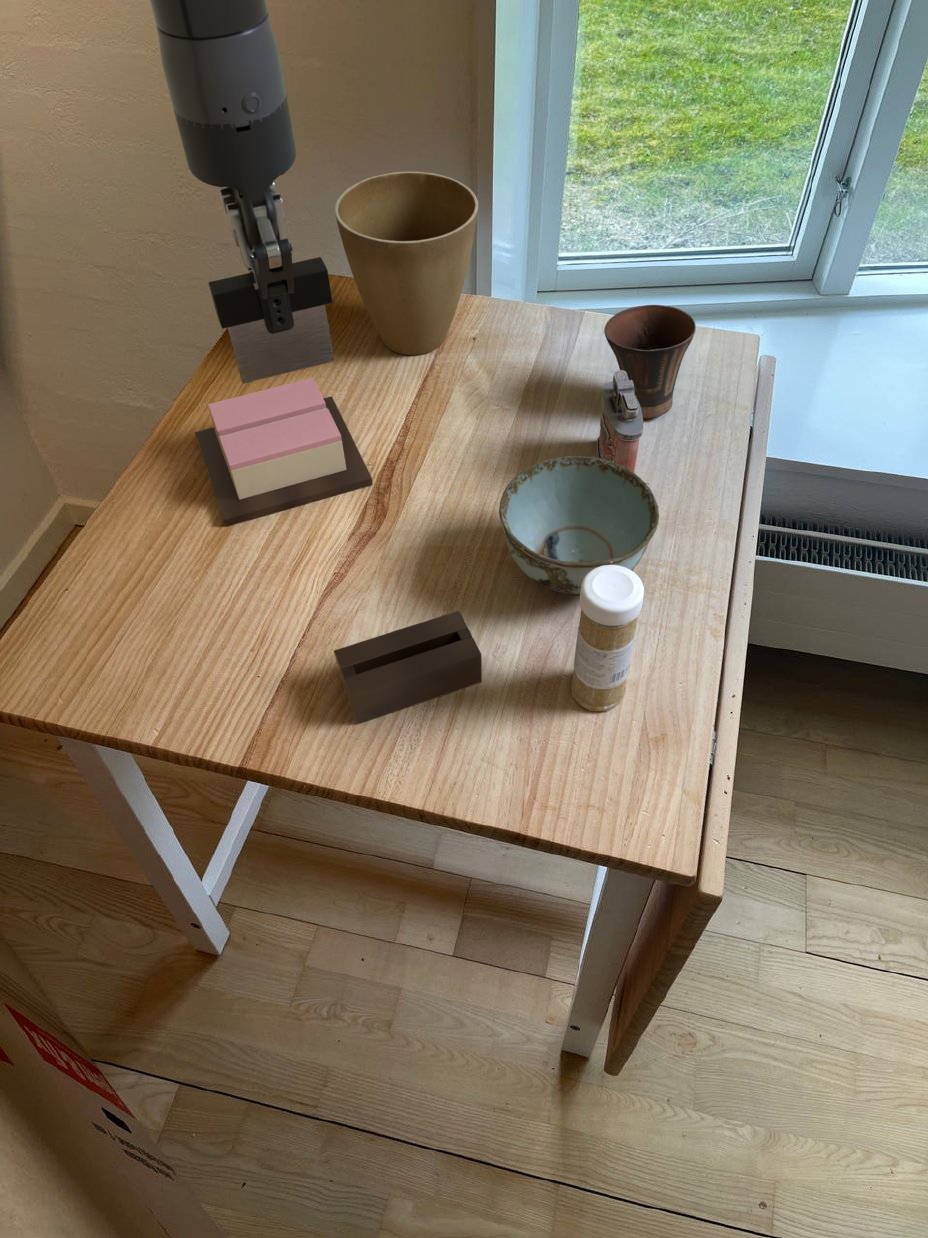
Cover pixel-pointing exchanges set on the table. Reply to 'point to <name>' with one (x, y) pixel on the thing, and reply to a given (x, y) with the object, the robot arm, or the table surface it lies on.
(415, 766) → the table surface
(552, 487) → the bowl
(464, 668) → the knife stand
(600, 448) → the lighter
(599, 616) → the sprinkles bottle
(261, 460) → the cake
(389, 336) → the plant pot
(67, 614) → the table surface
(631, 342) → the cup
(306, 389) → the slice
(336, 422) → the cake board
